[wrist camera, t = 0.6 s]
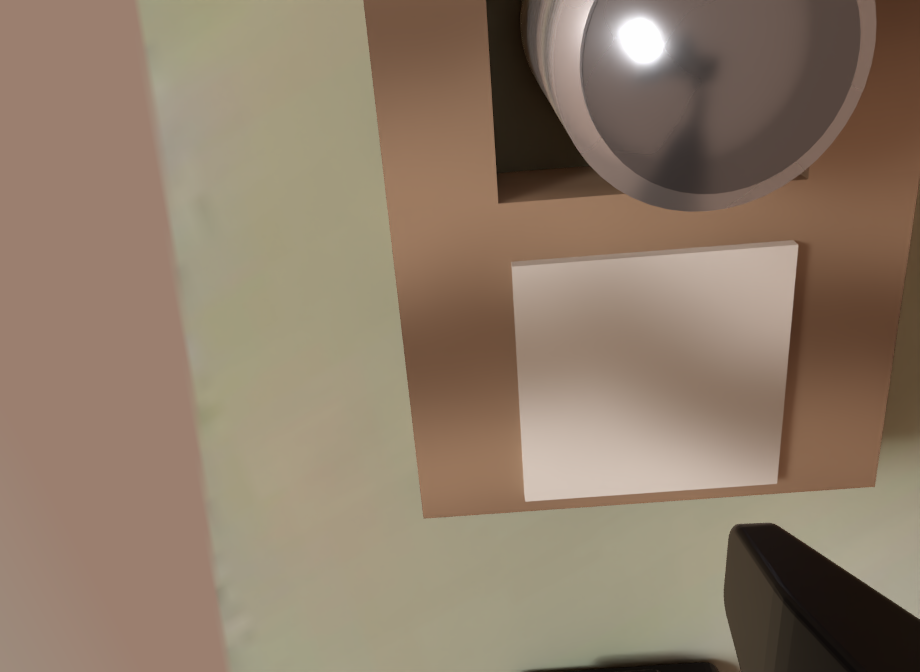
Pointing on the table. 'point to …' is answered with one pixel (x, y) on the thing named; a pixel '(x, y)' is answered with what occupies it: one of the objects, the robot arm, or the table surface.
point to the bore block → (635, 296)
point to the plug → (700, 89)
